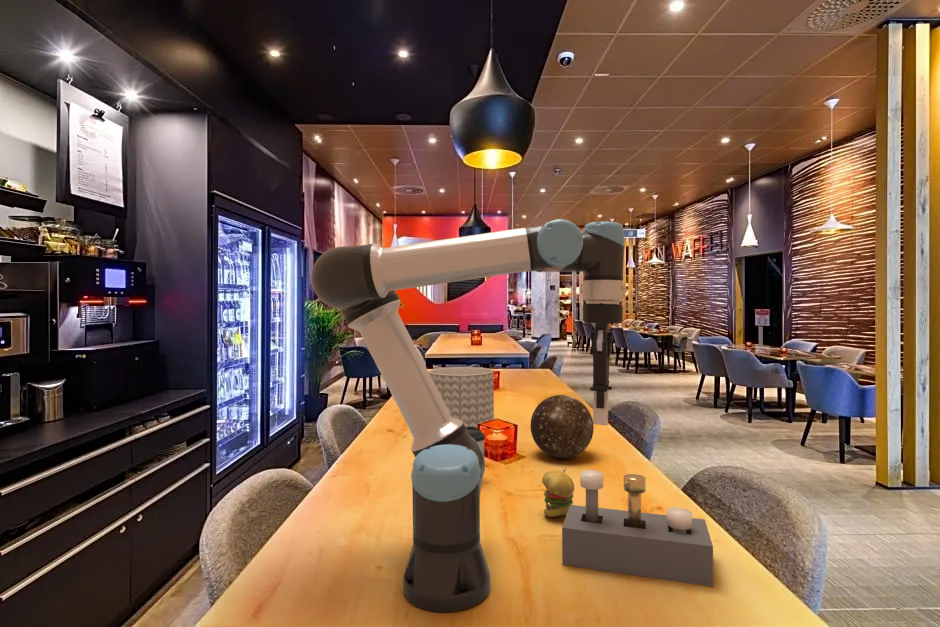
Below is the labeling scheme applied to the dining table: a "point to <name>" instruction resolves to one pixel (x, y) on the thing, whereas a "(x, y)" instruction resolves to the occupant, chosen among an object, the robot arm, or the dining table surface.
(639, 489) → the amber round-headed peg
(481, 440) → the coffee cup
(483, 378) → the planter
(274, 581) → the dining table surface
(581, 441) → the decorative sphere
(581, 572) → the dining table surface
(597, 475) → the knob
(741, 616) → the dining table surface
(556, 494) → the hamburger
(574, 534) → the mount block
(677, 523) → the knob
